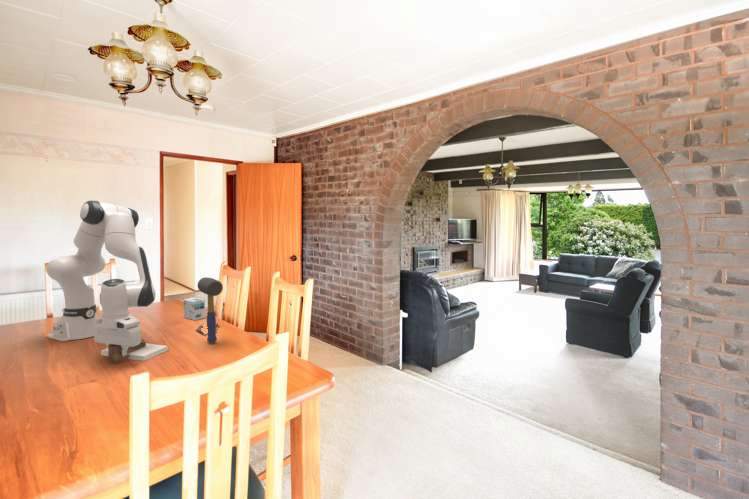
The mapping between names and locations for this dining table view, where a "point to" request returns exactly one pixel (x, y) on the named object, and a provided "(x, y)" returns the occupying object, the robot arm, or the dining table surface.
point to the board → (143, 352)
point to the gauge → (115, 352)
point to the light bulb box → (194, 308)
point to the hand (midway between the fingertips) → (118, 354)
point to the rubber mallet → (210, 304)
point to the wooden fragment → (207, 328)
